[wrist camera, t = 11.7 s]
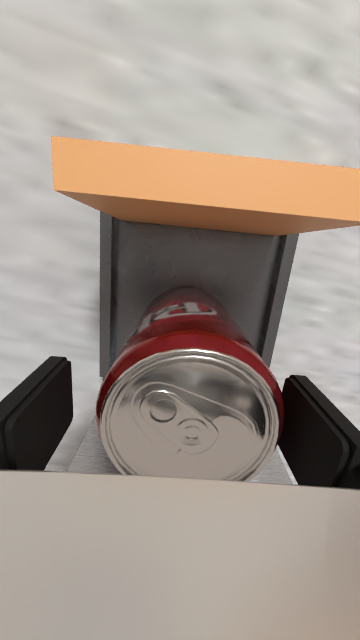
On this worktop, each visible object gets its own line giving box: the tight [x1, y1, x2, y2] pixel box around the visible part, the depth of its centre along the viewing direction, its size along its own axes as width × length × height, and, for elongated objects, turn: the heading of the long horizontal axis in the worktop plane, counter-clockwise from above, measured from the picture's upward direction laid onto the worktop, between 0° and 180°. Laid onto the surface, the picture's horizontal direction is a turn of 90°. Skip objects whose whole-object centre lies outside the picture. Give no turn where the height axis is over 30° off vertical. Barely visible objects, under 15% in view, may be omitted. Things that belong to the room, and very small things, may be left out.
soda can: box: [96, 287, 284, 482], centre depth 15 cm, size 7×7×12 cm
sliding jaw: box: [51, 136, 360, 236], centre depth 13 cm, size 2×11×10 cm, turn 84°
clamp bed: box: [66, 211, 299, 485], centre depth 16 cm, size 16×14×12 cm
